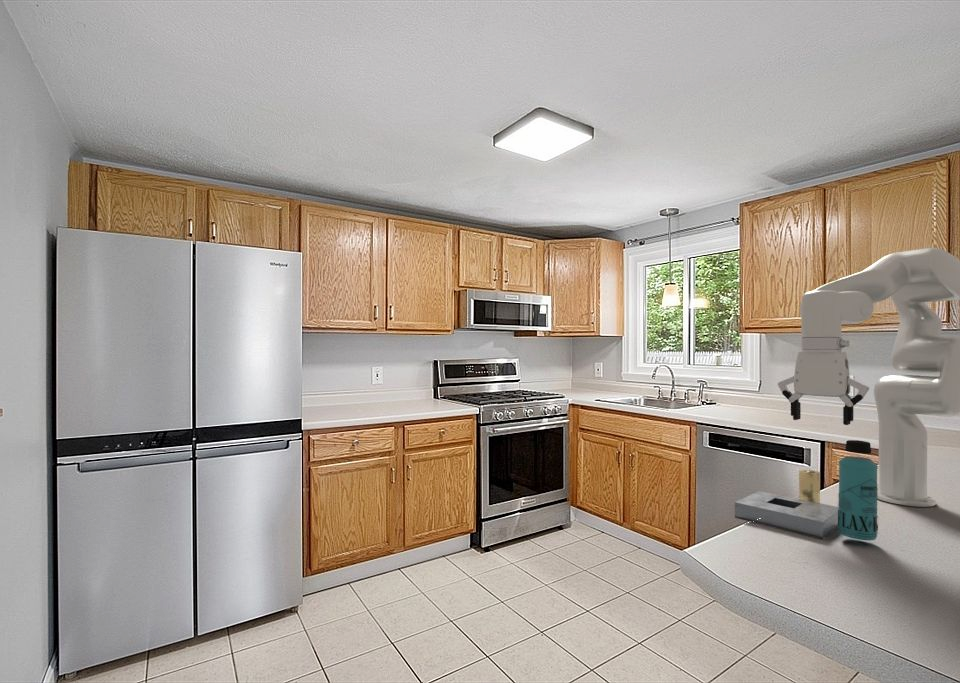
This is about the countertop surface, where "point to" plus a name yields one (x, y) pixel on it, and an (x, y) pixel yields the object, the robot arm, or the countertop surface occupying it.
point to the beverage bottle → (858, 493)
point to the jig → (788, 514)
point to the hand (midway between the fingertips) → (821, 421)
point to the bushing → (809, 485)
